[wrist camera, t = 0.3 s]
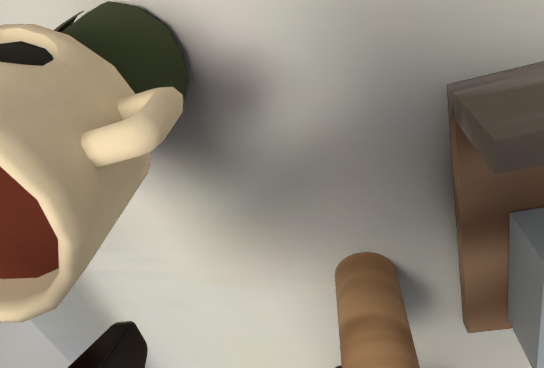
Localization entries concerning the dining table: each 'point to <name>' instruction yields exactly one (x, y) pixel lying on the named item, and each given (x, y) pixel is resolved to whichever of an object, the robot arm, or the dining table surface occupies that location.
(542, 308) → the sliding block
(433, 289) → the dining table surface
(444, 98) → the dining table surface
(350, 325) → the dowel
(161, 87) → the character mug
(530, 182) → the base board
